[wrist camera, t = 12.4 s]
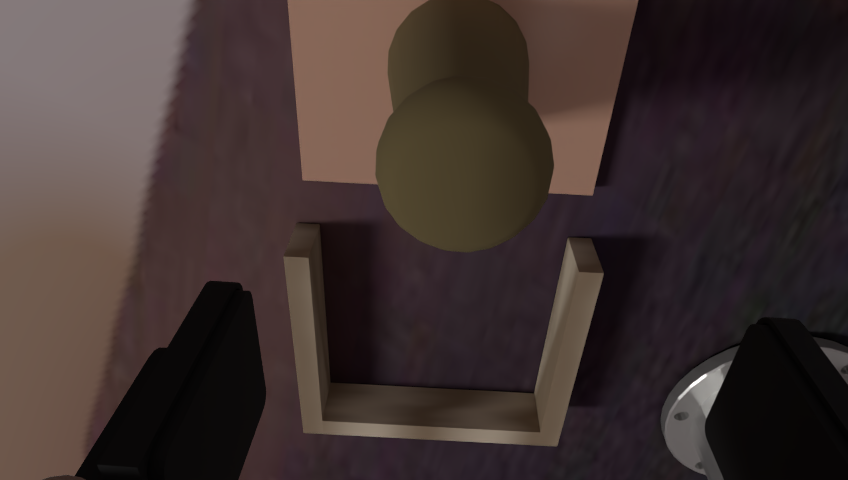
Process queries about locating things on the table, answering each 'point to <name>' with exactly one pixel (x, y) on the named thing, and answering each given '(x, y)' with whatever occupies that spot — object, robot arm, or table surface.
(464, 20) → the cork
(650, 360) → the table surface
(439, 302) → the table surface
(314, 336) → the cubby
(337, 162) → the tile
